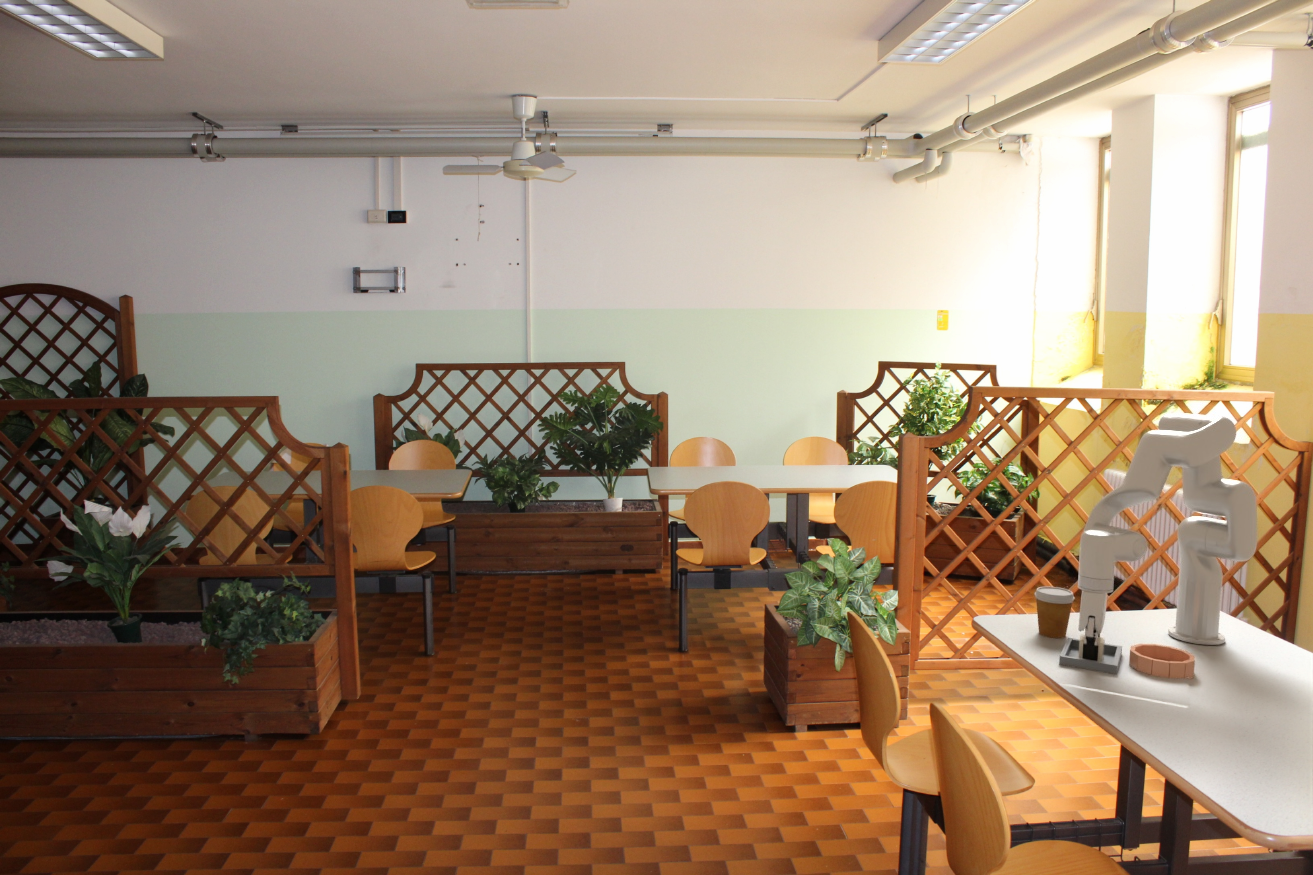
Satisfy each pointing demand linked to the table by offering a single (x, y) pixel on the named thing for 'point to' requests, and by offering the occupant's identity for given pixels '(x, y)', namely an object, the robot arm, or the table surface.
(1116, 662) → the parts tray
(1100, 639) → the cream beige cube
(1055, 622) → the disposable coffee cup
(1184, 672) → the bowl
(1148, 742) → the table surface
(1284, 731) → the table surface
